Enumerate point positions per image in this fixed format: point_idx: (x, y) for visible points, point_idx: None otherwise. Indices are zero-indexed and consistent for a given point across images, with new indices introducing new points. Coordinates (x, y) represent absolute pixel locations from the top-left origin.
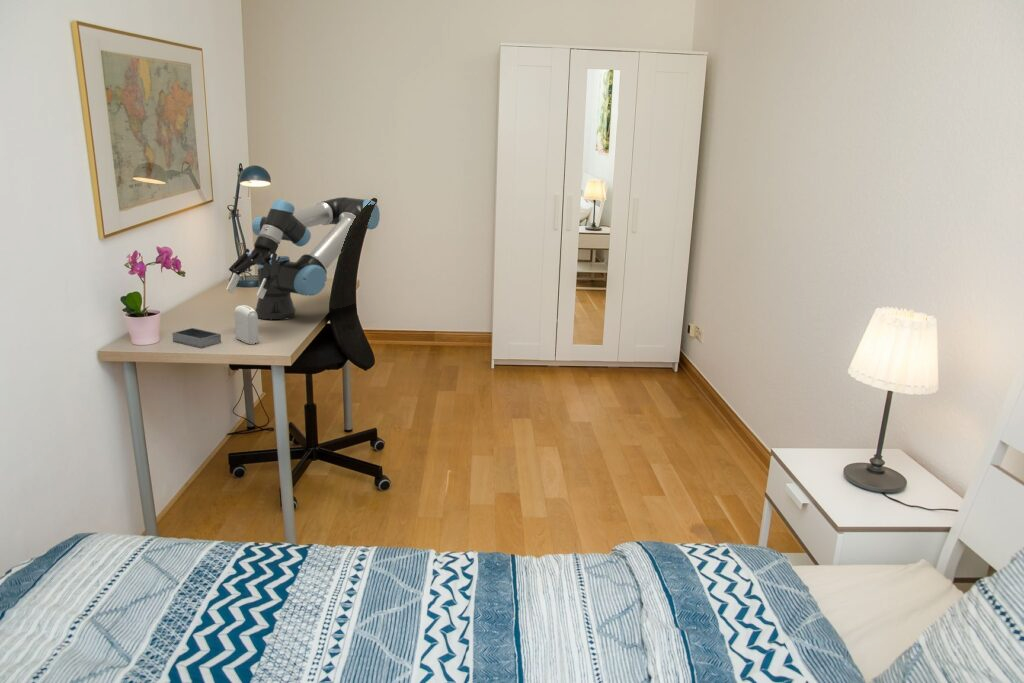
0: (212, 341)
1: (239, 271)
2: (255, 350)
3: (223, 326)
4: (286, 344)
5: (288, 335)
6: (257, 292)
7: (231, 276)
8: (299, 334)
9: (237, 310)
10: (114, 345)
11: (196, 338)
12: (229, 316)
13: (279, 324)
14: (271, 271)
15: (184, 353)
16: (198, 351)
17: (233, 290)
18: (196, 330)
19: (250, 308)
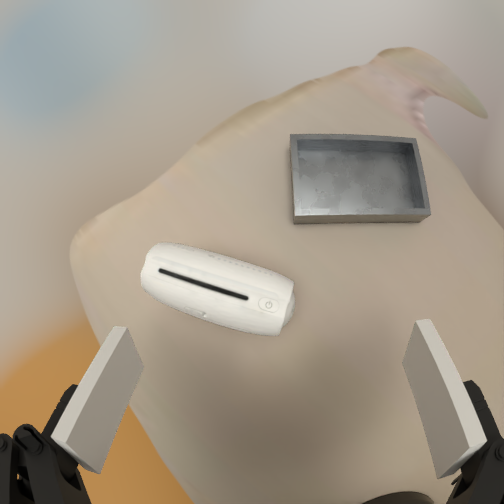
0: (292, 184)
1: (458, 498)
2: (144, 229)
3: None
4: None
5: (182, 420)
6: (118, 341)
7: (487, 417)
8: (166, 443)
9: (254, 265)
10: (447, 75)
11: (311, 134)
12: None
13: (305, 495)
14: (8, 490)
15: (283, 97)
16: (269, 125)
17: (408, 375)
18: (405, 209)
19: (163, 276)
